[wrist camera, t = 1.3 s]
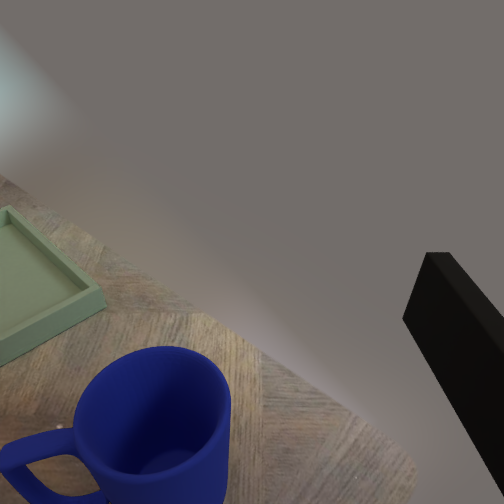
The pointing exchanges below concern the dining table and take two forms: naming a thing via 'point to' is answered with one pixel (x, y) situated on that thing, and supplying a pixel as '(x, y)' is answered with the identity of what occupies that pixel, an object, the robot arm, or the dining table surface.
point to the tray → (38, 288)
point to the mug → (139, 434)
